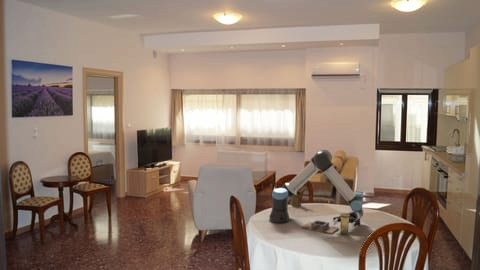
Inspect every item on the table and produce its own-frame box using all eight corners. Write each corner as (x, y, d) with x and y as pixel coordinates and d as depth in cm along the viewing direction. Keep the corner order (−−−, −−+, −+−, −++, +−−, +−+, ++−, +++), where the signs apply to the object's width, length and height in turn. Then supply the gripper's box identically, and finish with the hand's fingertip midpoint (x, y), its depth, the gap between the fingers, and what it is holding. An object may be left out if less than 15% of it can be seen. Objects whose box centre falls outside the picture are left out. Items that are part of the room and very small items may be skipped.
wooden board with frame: (301, 228, 277) (301, 222, 277) (309, 223, 289) (309, 217, 288) (331, 234, 265) (331, 228, 265) (338, 228, 277) (338, 223, 276)
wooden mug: (302, 207, 333) (303, 186, 331) (288, 204, 341) (288, 184, 339) (307, 205, 340) (307, 184, 339) (293, 202, 348) (293, 182, 346)
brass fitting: (338, 234, 265) (338, 214, 263) (341, 232, 270) (341, 212, 269) (347, 236, 261) (348, 216, 260) (350, 234, 266) (351, 213, 265)
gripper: (369, 225, 274) (360, 233, 256) (336, 219, 287) (325, 226, 268) (369, 214, 273) (361, 222, 255) (336, 209, 286) (326, 216, 268)
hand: (342, 224), depth 262 cm, fingers open, 11 cm apart
